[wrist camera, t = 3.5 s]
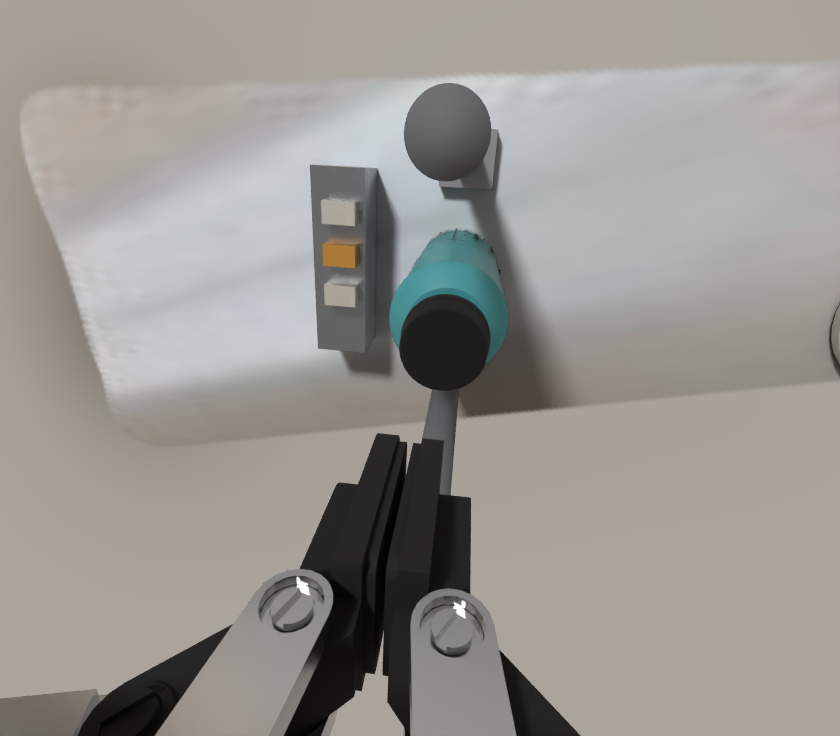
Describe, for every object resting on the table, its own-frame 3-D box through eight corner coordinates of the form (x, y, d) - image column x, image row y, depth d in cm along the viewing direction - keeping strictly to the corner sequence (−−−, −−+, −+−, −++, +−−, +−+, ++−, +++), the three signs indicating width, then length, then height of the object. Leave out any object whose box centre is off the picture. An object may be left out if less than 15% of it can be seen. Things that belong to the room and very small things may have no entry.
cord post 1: (497, 130, 33) (550, 31, 9) (491, 189, 34) (522, 230, 11) (443, 128, 33) (361, 24, 10) (439, 185, 35) (361, 219, 11)
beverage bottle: (409, 287, 38) (348, 393, 20) (436, 211, 36) (393, 254, 17) (479, 314, 39) (482, 443, 20) (511, 240, 36) (547, 313, 18)
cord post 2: (475, 334, 39) (472, 581, 16) (470, 375, 41) (462, 653, 17) (430, 331, 40) (362, 566, 16) (427, 371, 41) (361, 639, 18)
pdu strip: (377, 168, 35) (361, 168, 30) (374, 336, 41) (361, 358, 36) (327, 165, 35) (304, 164, 30) (332, 332, 41) (313, 353, 36)
